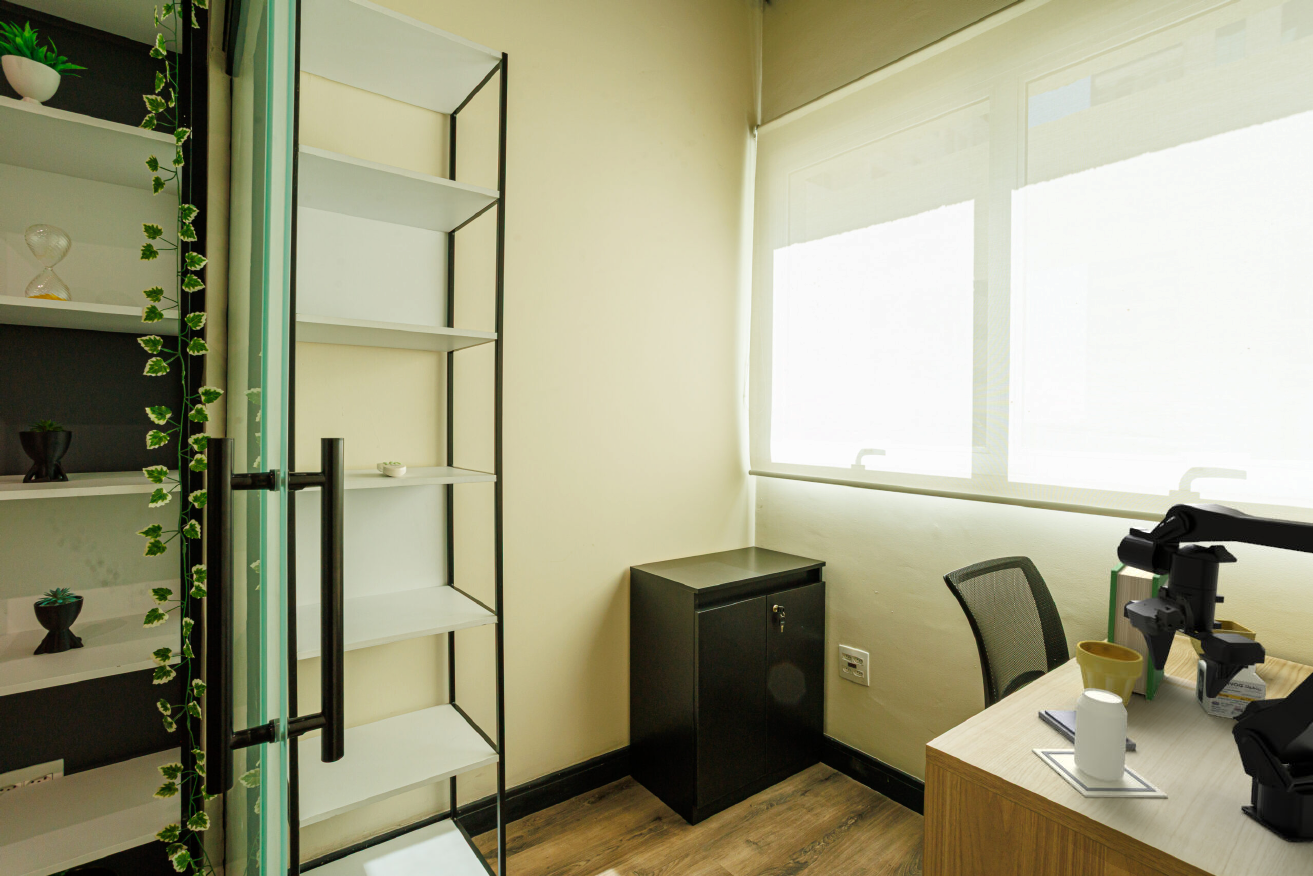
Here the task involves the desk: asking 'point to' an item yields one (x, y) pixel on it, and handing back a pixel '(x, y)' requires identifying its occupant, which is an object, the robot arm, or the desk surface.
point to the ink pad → (1069, 724)
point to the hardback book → (1120, 631)
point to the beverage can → (1100, 735)
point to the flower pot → (1226, 628)
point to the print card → (1092, 787)
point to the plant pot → (1109, 667)
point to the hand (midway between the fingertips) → (1183, 683)
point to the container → (1231, 692)
